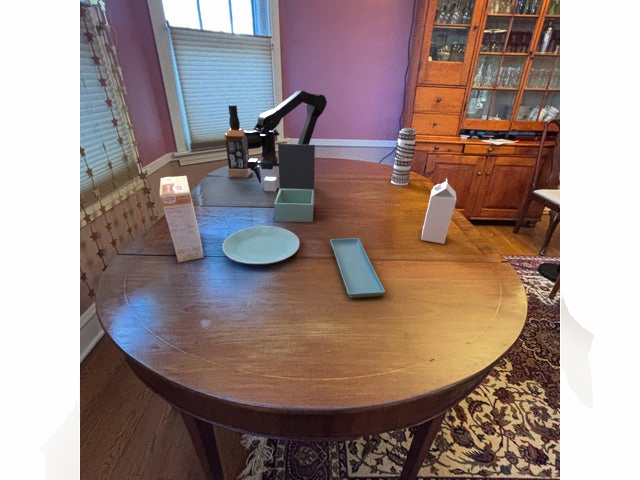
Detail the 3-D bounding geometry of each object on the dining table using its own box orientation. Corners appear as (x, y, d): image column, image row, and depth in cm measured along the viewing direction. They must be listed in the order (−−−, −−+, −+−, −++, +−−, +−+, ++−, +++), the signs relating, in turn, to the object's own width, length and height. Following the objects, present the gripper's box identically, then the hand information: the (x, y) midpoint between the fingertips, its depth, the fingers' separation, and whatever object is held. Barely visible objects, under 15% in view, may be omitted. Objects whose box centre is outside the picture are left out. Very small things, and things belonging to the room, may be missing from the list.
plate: (312, 242, 93) (312, 234, 92) (274, 280, 76) (273, 271, 74) (253, 228, 101) (253, 220, 99) (207, 259, 84) (205, 250, 82)
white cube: (266, 187, 137) (265, 176, 134) (277, 187, 137) (276, 177, 134) (264, 191, 132) (263, 180, 130) (275, 191, 132) (275, 180, 130)
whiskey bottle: (248, 178, 148) (240, 106, 131) (228, 177, 148) (218, 105, 131) (252, 172, 156) (245, 104, 140) (233, 171, 156) (224, 103, 140)
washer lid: (314, 145, 108) (314, 144, 109) (277, 144, 108) (278, 143, 108) (314, 188, 115) (314, 188, 116) (279, 187, 115) (279, 187, 116)
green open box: (312, 222, 106) (312, 204, 103) (275, 221, 106) (274, 203, 102) (313, 205, 119) (314, 189, 116) (280, 204, 119) (279, 188, 116)
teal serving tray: (384, 298, 71) (386, 290, 70) (347, 301, 70) (348, 293, 68) (358, 244, 93) (358, 237, 92) (329, 246, 92) (329, 239, 90)
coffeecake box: (176, 238, 93) (159, 177, 83) (200, 235, 96) (187, 175, 85) (177, 263, 82) (158, 195, 71) (204, 258, 84) (190, 191, 74)
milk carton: (443, 234, 100) (459, 179, 90) (444, 244, 94) (460, 186, 84) (422, 231, 102) (434, 176, 92) (421, 240, 96) (434, 183, 86)
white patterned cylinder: (411, 182, 149) (421, 128, 136) (405, 186, 142) (415, 131, 129) (394, 178, 153) (402, 126, 140) (387, 183, 146) (395, 128, 133)
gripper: (241, 150, 118) (246, 188, 126) (288, 152, 118) (289, 190, 126) (247, 145, 127) (251, 180, 136) (291, 146, 127) (292, 181, 136)
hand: (270, 183), depth 133 cm, fingers open, 9 cm apart
